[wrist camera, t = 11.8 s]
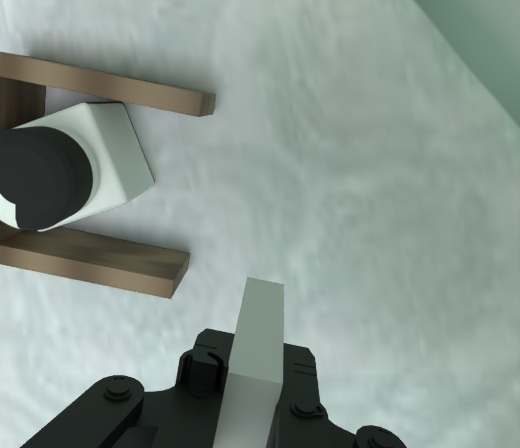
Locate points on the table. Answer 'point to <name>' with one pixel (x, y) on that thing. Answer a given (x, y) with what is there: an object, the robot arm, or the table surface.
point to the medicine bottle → (70, 166)
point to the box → (76, 242)
